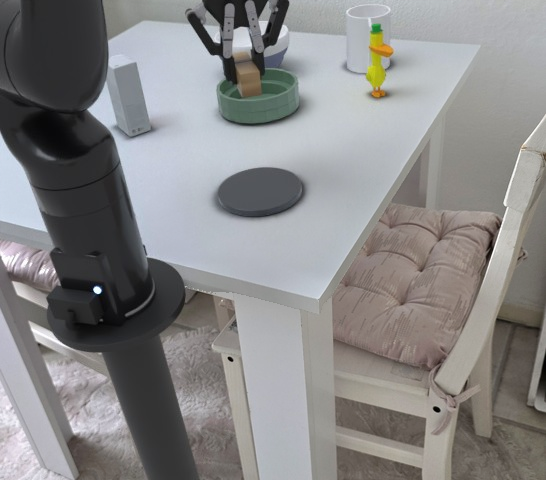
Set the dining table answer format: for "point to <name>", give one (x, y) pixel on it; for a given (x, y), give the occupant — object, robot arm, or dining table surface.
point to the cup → (365, 35)
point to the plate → (259, 191)
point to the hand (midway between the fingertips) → (245, 80)
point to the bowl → (271, 53)
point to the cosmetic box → (127, 95)
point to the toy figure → (377, 59)
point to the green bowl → (260, 98)
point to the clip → (247, 75)
